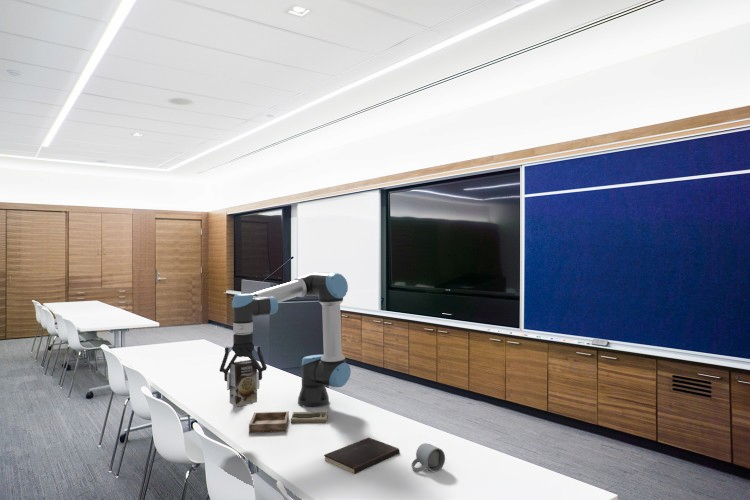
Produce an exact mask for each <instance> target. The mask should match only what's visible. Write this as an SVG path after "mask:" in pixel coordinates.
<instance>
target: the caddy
mask: <svg viewBox="0 0 750 500" xmlns="http://www.w3.org/2000/svg"><path fill="white" fill-rule="evenodd" d="M289 414H290V412H289V411H263V412H262V411H261V412H260V411H259V412H254V413H253V414H252V417H251V419H250V421H249V423H248V433H249V434H260V433H261V434H262V433H263V434H264V433H286V432H287V429H288V425H289V417H290V415H289Z"/></svg>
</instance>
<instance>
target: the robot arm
mask: <svg viewBox="0 0 750 500" xmlns="http://www.w3.org/2000/svg"><path fill="white" fill-rule="evenodd" d="M348 290H349V284H348V281H347V279H346V278H345V277H344V275H343V274H340V273H339V272H337V273H336V272H318V271H317V272H312V273H308V274H306V275H305V274H304V275H302V276H299V277H295V278H294V279H293V281H289V282H286V283H282V284H280V285H279V284H278V285H276V286H272V287H269V288H265V289H261V290H258V291H256V292H252V293H238V294H235V295H233V299H232V301H231V307H232V311H233V312H232V317H233V318H232V321H233V323H232V325H233V326H232V328H233V336H232V337H233V339H232V340H233V341H232V343H233V345H232V346H229V345H227V346H226V347H224V356H223V359H222V361H221V364H220V368H219V372H220V373H224V375H223V376H224V377H223V378H224V382H226V390H227V391H230V367H231V364H233V363H234V362H236V359H237V358H243V357H244V358H247V357H248V358H249V360H251V361H252V362H253V364H254V365H255V367H256V368H257V390H259V389H260V381H262V379H263V372H264V371H266V370H267V368H268V367H267V364H266V362H265V358H264V356H263V353H262V345H254V334H253V331H254V318H255V317H262V316H263V317H264V316H270V315H275V314H276V313H277V312H278V310H279V303H282V302H285V301H289V300H291V299H294V298H296V297H299V298H305V297H308V296H309V297H314V296H315V297H318V303H319V304H320V305H321V312H322V314H321V315H322V337H323V338H322V339H323V341H322V342H323V343H322V344H323V345H322V346H323V354H312V355H307V356H304V357H303V358H302V359H301V389H300V391H299V395H298V398H297V403H298V405H300V406H301V407H307V408H314V407H322V406H325V405H327V404H329V401H330V397H329V394H328V391H327V387H326V386H329V387H332V388H342V387H343V386H345V385H346V384H347V382H348V381H349V380H350V377H351V372H352V371H351V370H352V369H351V367H350V365H349V364H348V363H346V356H345V355H344V354H343V352H342V351H343V350H342V348H343V347H342V322H341V319H342V318H341V304H342V303H343V301H344V297H346V295H347V293H348ZM232 351H233V352H234V355H233V357H232V358H231V360H230V361H229V363H228V365H227V366H226V364H227V361H228V357H229V355H230V353H231V352H232ZM253 351H255V352H257V353H256V354H257V357H258V359H259V362H260V363H259V362H258V361H257V359H256V357H255V355H254V353H253ZM225 366H226V368H225Z"/></svg>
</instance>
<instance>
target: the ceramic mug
mask: <svg viewBox="0 0 750 500" xmlns="http://www.w3.org/2000/svg"><path fill="white" fill-rule="evenodd" d="M445 455H446V454H445V452H444V451H443V449H441V448H440V447H437V446H435V445H434V444H433V445H432V444H431V443H427V442H426V443H425V442H424V443H422V444H420V445H419V446H417V449H416V452H415V456H416V458H415V459H413V461H412V462H411V468H412V470H413V471H414V472H416V473H421V472H423V471H425V470H426V469H427V470H428V471H430V472H431V473H432V472H433V473H435V472H439V471H440V470H442V468H443V467H444V465H445V462H446V456H445ZM418 463H419V464H421V466H418V467H415V466H416V464H418Z"/></svg>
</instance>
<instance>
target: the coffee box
mask: <svg viewBox="0 0 750 500" xmlns="http://www.w3.org/2000/svg"><path fill="white" fill-rule="evenodd" d="M257 371H258V370H257V368H256V367H255V365H254V364H253V362H252V361H251V359H248V360H239V361H234V363H233V364H231V367H230V369H229V372H230V390H229V404H231V405H232V406H234V407H235V408H236V407H237V406H240V407H243V406H242V405H246V406H247V404H248V405H252V404H255V403H258V389H257ZM251 403H252V404H251ZM237 408H238V407H237Z"/></svg>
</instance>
